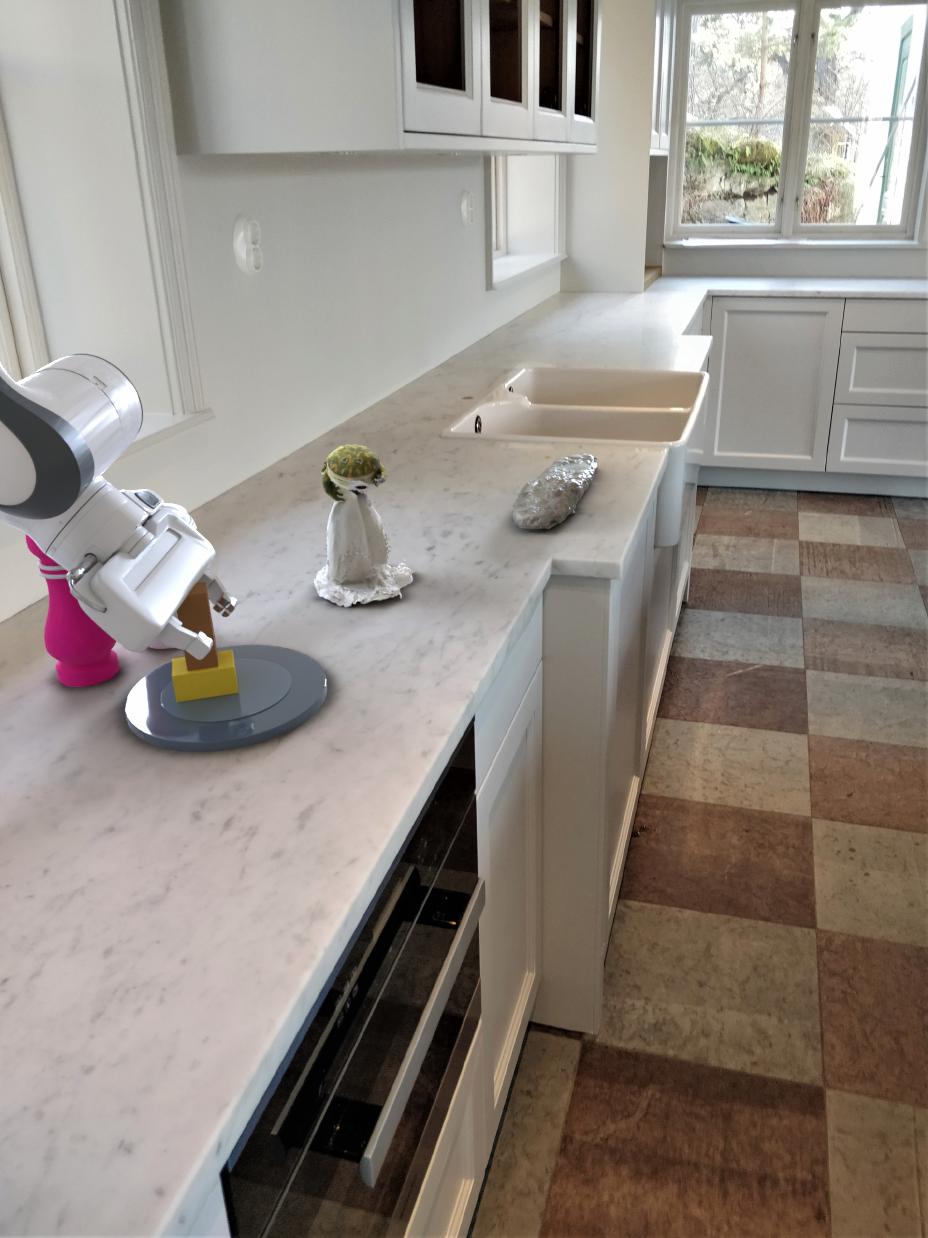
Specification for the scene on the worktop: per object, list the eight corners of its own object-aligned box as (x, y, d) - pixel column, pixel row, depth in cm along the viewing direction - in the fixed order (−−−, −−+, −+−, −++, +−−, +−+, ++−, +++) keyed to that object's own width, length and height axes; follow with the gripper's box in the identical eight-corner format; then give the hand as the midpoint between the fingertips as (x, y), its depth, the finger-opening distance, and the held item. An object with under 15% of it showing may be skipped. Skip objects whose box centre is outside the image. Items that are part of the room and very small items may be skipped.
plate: (155, 777, 85) (153, 765, 85) (107, 686, 101) (104, 675, 101) (359, 712, 94) (358, 701, 94) (285, 638, 110) (284, 628, 110)
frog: (300, 605, 118) (282, 460, 110) (334, 565, 130) (320, 432, 122) (393, 610, 116) (382, 462, 108) (419, 569, 127) (411, 433, 119)
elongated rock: (610, 476, 166) (554, 476, 169) (610, 446, 164) (553, 447, 168) (567, 534, 136) (499, 533, 139) (565, 498, 134) (497, 497, 137)
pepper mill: (93, 653, 108) (55, 482, 100) (138, 667, 105) (102, 491, 96) (39, 681, 103) (-7, 503, 94) (85, 696, 99) (41, 512, 91)
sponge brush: (176, 702, 95) (157, 601, 90) (176, 684, 98) (158, 585, 94) (238, 693, 96) (222, 592, 91) (236, 675, 100) (221, 577, 95)
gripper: (79, 556, 80) (211, 658, 84) (157, 484, 99) (263, 570, 102) (38, 605, 82) (169, 703, 86) (122, 526, 101) (227, 609, 104)
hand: (221, 630), depth 94 cm, fingers open, 8 cm apart
